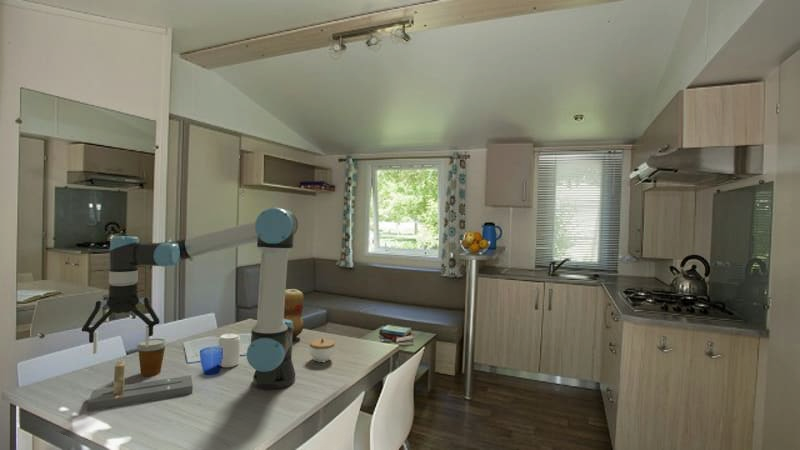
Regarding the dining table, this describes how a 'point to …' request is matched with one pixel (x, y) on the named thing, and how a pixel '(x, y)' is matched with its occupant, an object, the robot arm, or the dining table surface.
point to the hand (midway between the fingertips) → (122, 349)
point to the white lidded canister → (230, 349)
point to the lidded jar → (321, 349)
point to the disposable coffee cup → (151, 356)
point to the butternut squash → (294, 309)
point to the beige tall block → (119, 377)
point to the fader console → (140, 392)
